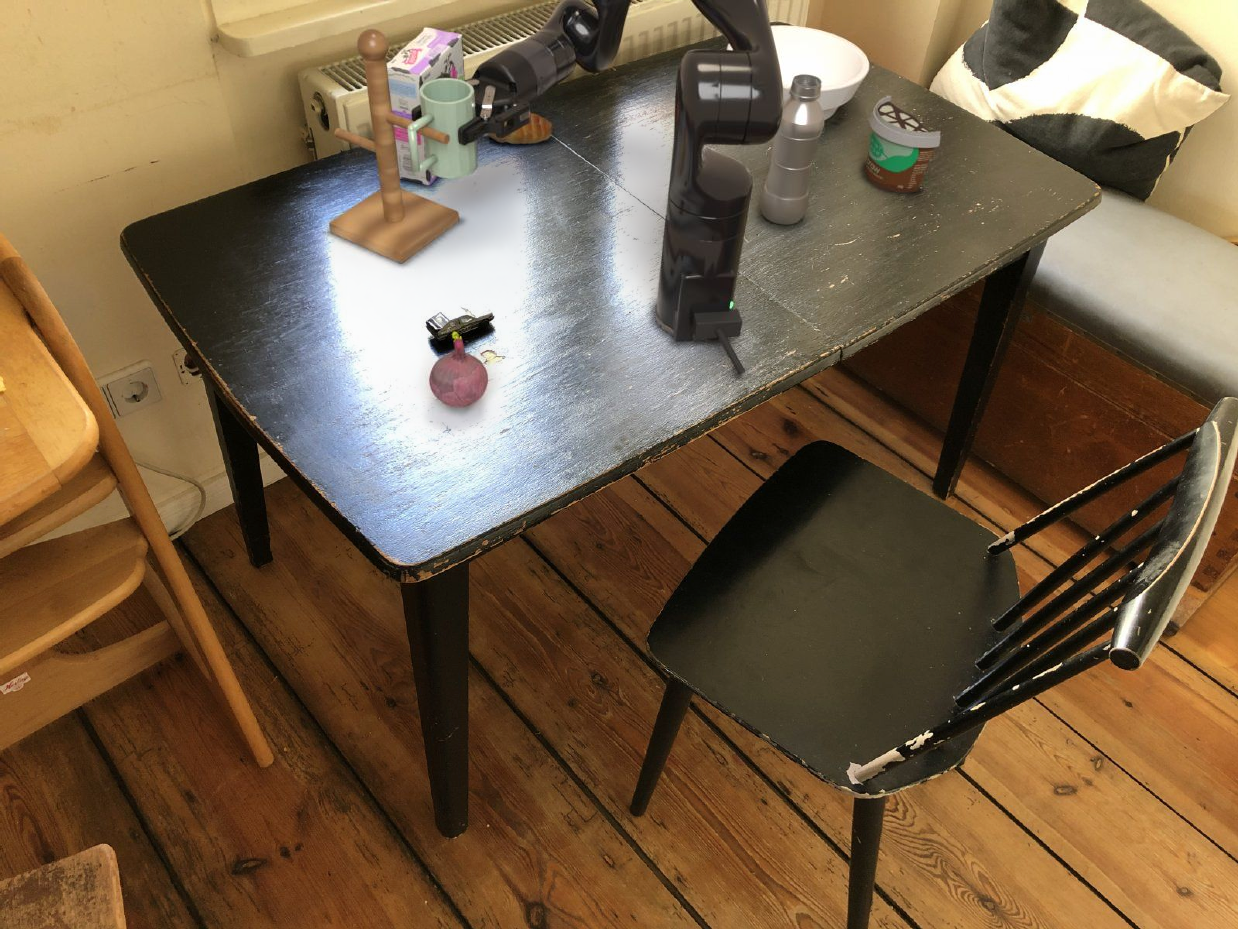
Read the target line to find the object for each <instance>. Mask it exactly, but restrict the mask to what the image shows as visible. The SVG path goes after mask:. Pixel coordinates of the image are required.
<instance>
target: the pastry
mask: <svg viewBox="0 0 1238 929" xmlns="http://www.w3.org/2000/svg"><path fill="white" fill-rule="evenodd" d="M506 124H507V121H506V122H505V126H506ZM552 128H553V124H552V122H550V121H549V120H548V119H547V118H545V117H542V116H540V115H539V114H537V113H532V112H531V111H530V123H528V124H527V125H525V126H523V127H521V128H520V129H518V130H516V131H514V132H513V133H511V134H509V135H508V136H506V137H504V138H497V137H496V134H494V133H491V134H490V135H489V137H490V138H491V139H492V140H494V141H496V143H497V142H498V143H502V144H504V143H509V144H511V145H512V144H513V145H519V144H523V145H526V144H537V143H540V142H542V141H543V142H544V141H547V140H549V139H550V138H551V136H552Z"/></svg>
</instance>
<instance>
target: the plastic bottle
mask: <svg viewBox="0 0 1238 929" xmlns="http://www.w3.org/2000/svg"><path fill="white" fill-rule="evenodd" d="M821 86H822V81H821V79H819V78H818V77H816V76H813V75H809V74H799V75H796V76H794V77H793V80H792V85H791V87H790V91H789V93H790V95H791V96H790V97H789V98H787V99H786V100H785V101H784V102H783V103H784V104H783V115H782V121H781V125H780V127H779V130H778V132H777V134H776V135H775V136H774V138H773V139H772V148H771V159H770V164H769V169H768V172H767V175H766V176H767V177H766V180H765V183H764V185H763V186H762V190H761V193H760V196H759V210H760V212H761V214H762V215H763V217H764V218H765V219H766V220H767V221H769V222H771V223H774V224H777V225H783V226H784V225H786V226H787V225H794V224H796V223H798V222H799V221H801V220H802V219H803V218H804V216H805V214H806V212H807V210H808V207H809V200H810V199H809V197H810V196H809V194H810V193H809V186H810V178H811V177H810V176H811V170H812V165H813V161H814V158H815V153H816V150H817V147H818V144H819V141H820V139H821V135H822V133H823V130H824V126H825V120H824V114H823V112H822V109H821V107H820V105H819V103H818V101H817V99H819V98H820V94H821V92H820V90H821Z"/></svg>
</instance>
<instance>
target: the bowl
mask: <svg viewBox="0 0 1238 929" xmlns="http://www.w3.org/2000/svg"><path fill="white" fill-rule="evenodd" d="M771 29H772V33H773V37H774V42H775V46H776V50H777V55H778V59H779V64H780V69H781V75H782V83H783V102H784V101H785V100H786V99H787V98H789V97H790V96H791V95H790V93H789V91H790V87H791V85H792V80H793V77H794V76H796V75H799V74H809V75H813V76H816V77H818V78H819V79H821V81H822V86H821V90H820V92H821V94H820V98H819V99H817V101H818V103H819V105H820V107H821V109H822V112H823V114H824V121H826V120H828V119H830V118H831V117H832V116H833V115H834V114H835V113H836V111H837V110H838V108H839V107H841V106H843V105H845V104H846V103H848V102H849V101H850V100H851V99H853V97H854V95H855V94H856V93H857V91H858V90H859V88H860V86H861V85H862V83H863V81H864V80H865V78H866V76H867V75H868V73H869V71H870V62H869V60H868V56H867V55H866V54H865V52H864V51H863V50H862V49H861V48H860V47H858V46H857V45H856V44H854V43H853V42H851V41H849V40H847V39H845V38H844V37H841V36H839V35H837V34H834V33H831V32H828V31H824V30H821V29H816V28H813V27H812V28H811V27H805V26H798V25H797V26H796V25H784V24H781V25H780V24H779V25H778V24H777V25H771ZM726 50H733V49H732V47H731V46H730V44H729V43H727V47H726Z"/></svg>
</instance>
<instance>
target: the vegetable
mask: <svg viewBox="0 0 1238 929" xmlns="http://www.w3.org/2000/svg"><path fill="white" fill-rule="evenodd" d="M451 337H452V339H454V340H452V342H453V346H454V351H453V352H450V353H447V354H445V355H443V356H441V357H439V358H438V359H437V361H436V362H435V363H434V365H433V366H432V367H431V370H430V373H429V377H428V382H429V384H428V385H429V387H430V391H431V392H432V393H433V395H434V396H435V397H436V398H437V400H439V402H441V403H442V404H445V405H446V406H450V407H456V408H464V407H469V406H470V405H473V404H475V403H476V402H478V401H479V400H481V399H482V397H483V396H484V394H485V392H486V390H487V387H488V384H489V375H488V371H487V368H486V367H485V365H484V364H483V362H482V361H481V360H480V359H479V358H477V357H476V356H474V355H472V354H470V353H469V352H466V348H465V345H464V342H463V341H464V340H463V338H462V336H461V335H460V334H459V333H458V332H457V331H453V332H452V333H451Z"/></svg>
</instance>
